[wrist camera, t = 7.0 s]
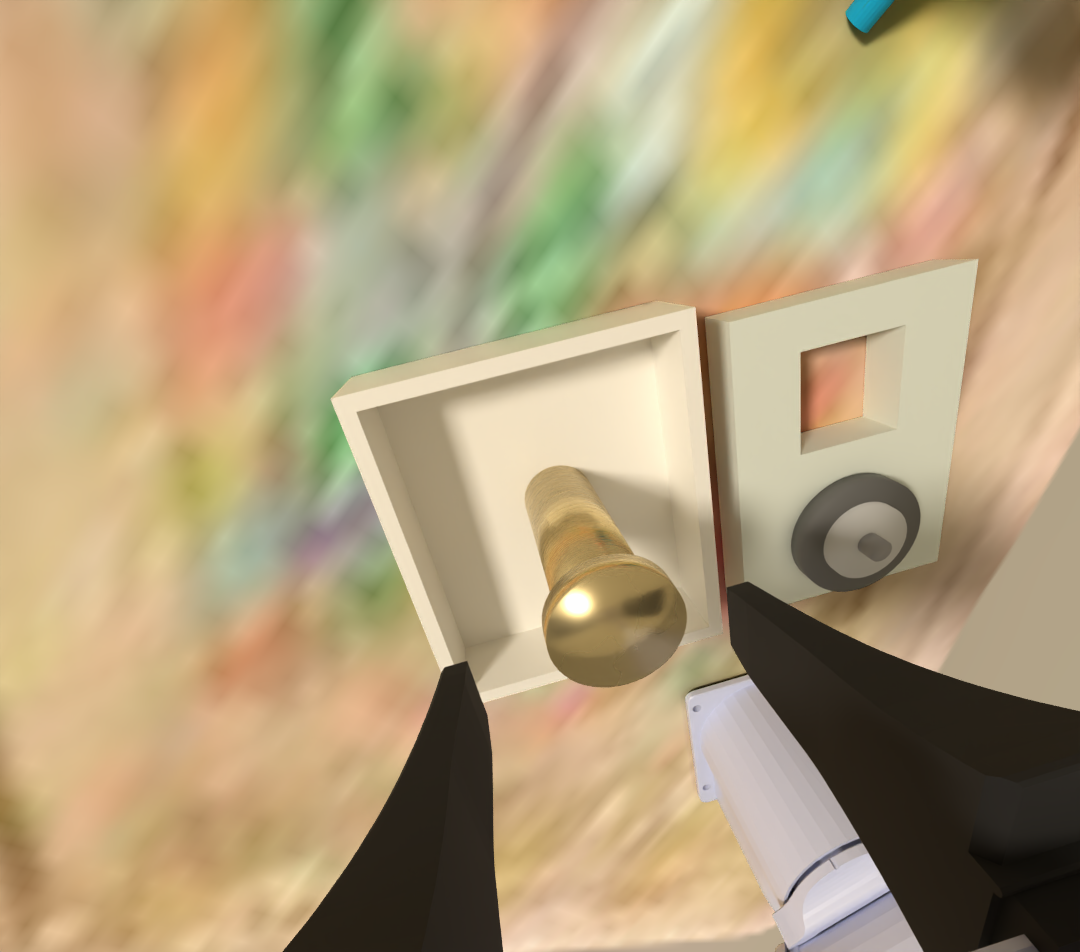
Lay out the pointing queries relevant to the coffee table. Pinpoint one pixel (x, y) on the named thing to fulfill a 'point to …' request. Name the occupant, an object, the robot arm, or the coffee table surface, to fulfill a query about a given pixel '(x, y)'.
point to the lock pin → (598, 587)
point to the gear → (866, 13)
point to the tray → (521, 453)
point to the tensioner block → (839, 431)
